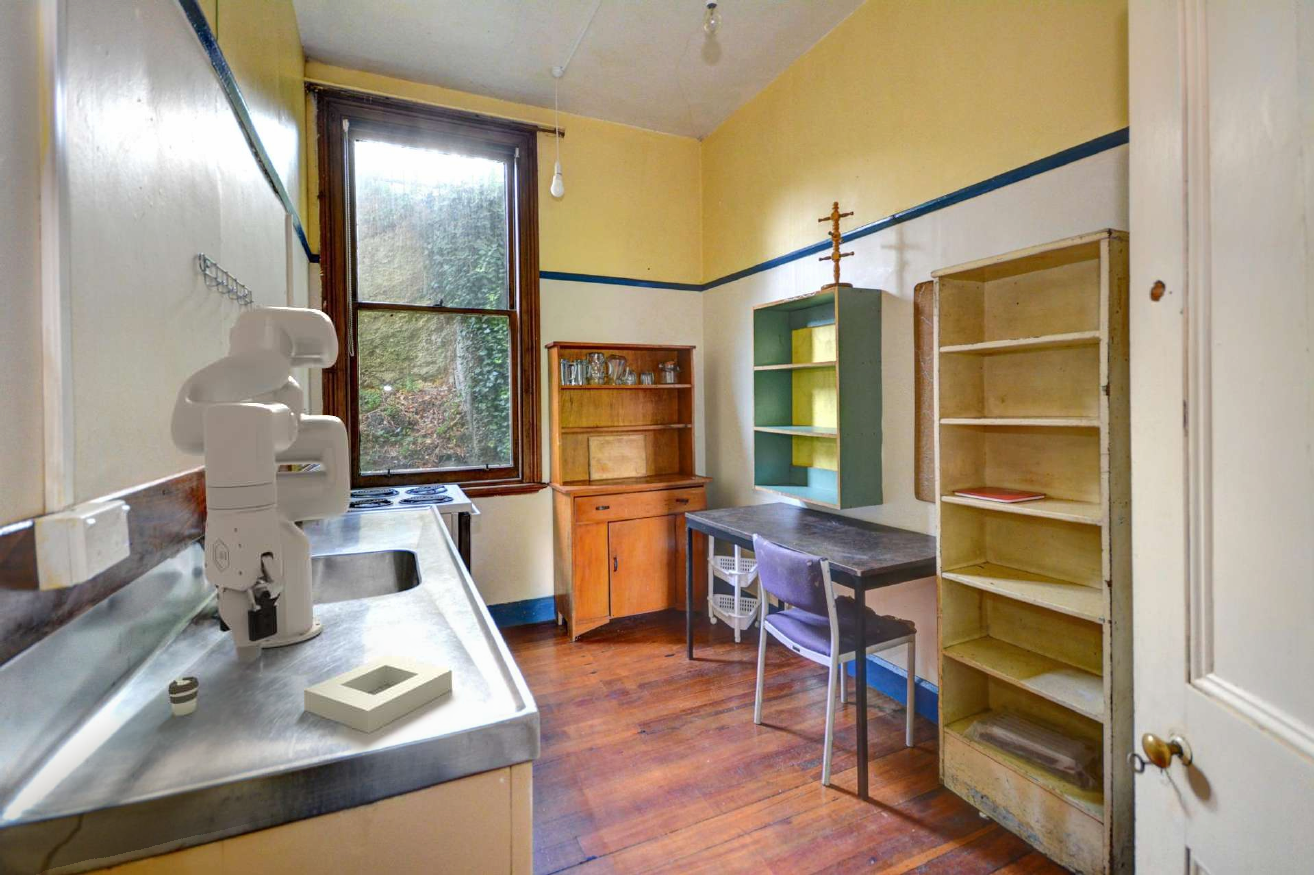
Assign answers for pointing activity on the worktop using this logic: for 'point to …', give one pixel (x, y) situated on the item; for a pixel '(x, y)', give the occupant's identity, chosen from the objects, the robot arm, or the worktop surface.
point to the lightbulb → (240, 622)
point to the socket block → (369, 712)
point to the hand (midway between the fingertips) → (248, 631)
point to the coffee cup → (183, 695)
